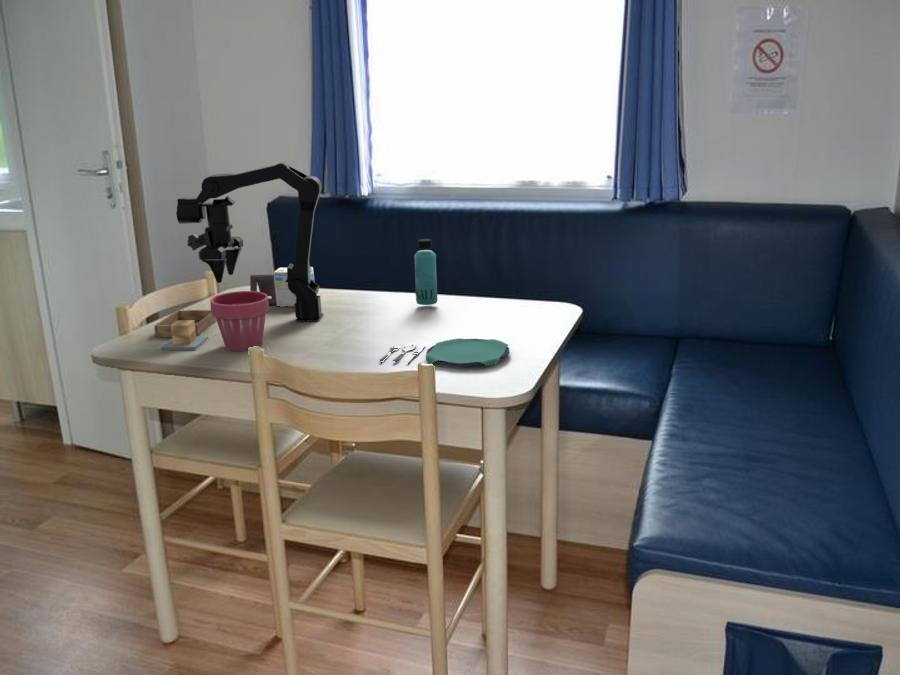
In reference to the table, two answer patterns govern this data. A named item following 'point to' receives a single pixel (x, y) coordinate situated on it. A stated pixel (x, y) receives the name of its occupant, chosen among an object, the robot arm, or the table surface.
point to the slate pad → (193, 345)
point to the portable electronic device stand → (264, 286)
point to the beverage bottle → (425, 274)
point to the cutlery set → (464, 352)
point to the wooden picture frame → (202, 315)
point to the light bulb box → (285, 288)
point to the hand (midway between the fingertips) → (225, 278)
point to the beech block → (183, 332)
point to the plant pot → (240, 318)
